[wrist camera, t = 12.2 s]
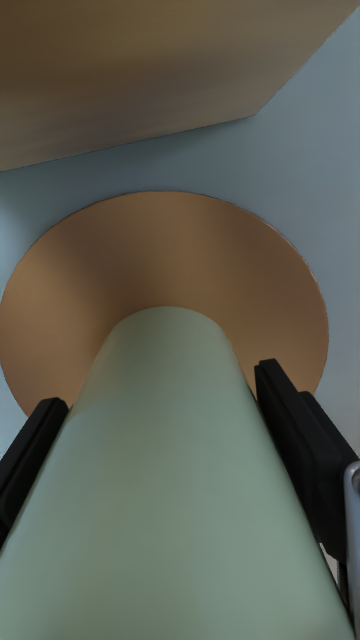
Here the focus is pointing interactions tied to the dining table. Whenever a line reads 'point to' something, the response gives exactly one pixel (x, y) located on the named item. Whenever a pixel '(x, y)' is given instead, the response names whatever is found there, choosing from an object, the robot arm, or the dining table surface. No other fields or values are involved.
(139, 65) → the shelf unit
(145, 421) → the jug
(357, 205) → the dining table surface
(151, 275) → the disc
